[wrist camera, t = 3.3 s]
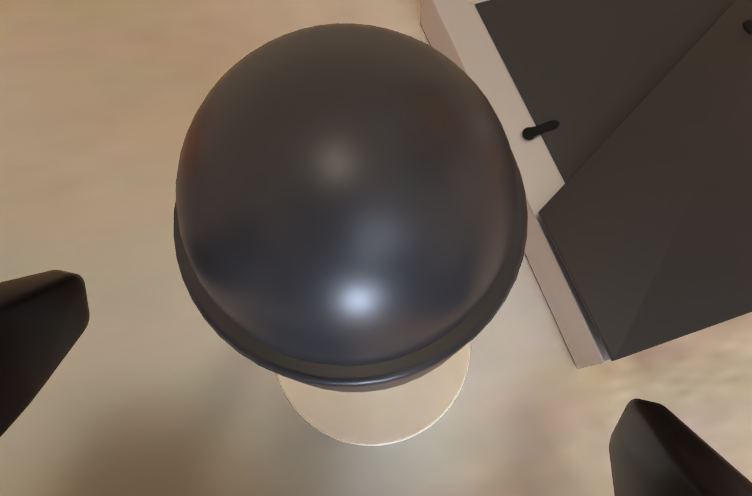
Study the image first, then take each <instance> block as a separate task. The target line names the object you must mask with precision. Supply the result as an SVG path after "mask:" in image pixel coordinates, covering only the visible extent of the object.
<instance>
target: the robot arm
mask: <svg viewBox="0 0 752 496" xmlns="http://www.w3.org/2000/svg"><path fill="white" fill-rule="evenodd" d="M88 322H89V308H88V301H87V295H86V288H85V283H84V280H83V278H82V277H81V276H80V275H78V274H75V273H70V272H66V271H61V270H51V271H47V272H43V273H39V274H34V275H30V276H26V277H22V278H18V279H14V280H9V281H5V282H1V283H0V437H1V436H2V435H3V433H4V432H5V431H6V430H7V429H8V428H9V427H10V426H11V425H12V423H13V422H14V421H15V420H16V419H17V418H18V417H19V416H20V414H21V413H22V412H23V411H24V410H25V409H26V407H27V406H28V405H29V404H30V403H31V401H32V400H33V399H34V397H35V396H36V395H37V394H38V392H39V391H40V390H41V388H42V387H43V386H44V384H45V383H46V382H47V380H48V379H49V378H50V376H51V375H52V374H53V372H54V371H55V370H56V368H57V367H58V365H59V364H60V363H61V361H62V360H63V359H64V357H65V356H66V355H67V353H68V352H69V351H70V349H71V348H72V347H73V345H74V344H75V343H76V341H77V340H78V339H79V337H80V336H81V335H82V333H83V332H84V330H85V329H86V327H87V325H88ZM609 453H610V461H611V469H612V477H613V485H614V493H615V496H752V483H751V482H750V481H749V480H748V479H747V478H746V477H745V476H743V475H742V474H741V473H740V472H739V471H738V470H737V469H735V468H734V467H733V466H732V465H731V464H730V463H729V462H727V461H726V460H725V459H724V458H723V457H722V456H721V455H719V454H718V453H717V452H716V451H715V450H714V449H713V448H711V447H710V446H709V445H708V444H707V443H706V442H705V441H704V440H702V439H701V438H700V437H699V436H698V435H697V434H696V433H694V432H693V431H692V430H691V429H690V428H689V427H688V426H686V425H685V424H684V423H683V422H682V421H681V420H680V419H678V418H677V417H676V416H675V415H674V414H673V413H672V412H670V411H669V410H668V409H667V408H666V407H665V406H663V405H661V404H659V403H655V402H650V401H646V400H641V399H633V400H631V401H630V402H629V403H628V404H627V406H626V408H625V410H624V412H623V414H622V416H621V417H620V419H619V421H618V423H617V425H616V427H615V429H614V431H613V433H612V435H611V438H610V444H609Z"/></svg>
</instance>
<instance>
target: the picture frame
mask: <svg viewBox="0 0 752 496" xmlns="http://www.w3.org/2000/svg"><path fill="white" fill-rule="evenodd" d="M420 23H421V25H422V27H423V30H424V32H425V34H426V36H427V38H428V41H429V43H430V45H431V47H433V48H434V49H436V50H438V51H439V52H441V53H442V54H444V55H445V56H446V57H447V58H449V59H450V60H451V61H453V62H454V63H455V64H456V65H457V66H459V67H460V68H461V69H462V70H463V71H464V72H465V73H466V74H467V75H468V76H469V77H470V78H471V79H472V80H473V81H474V82H475V83H476V84H477V86H478V87H479V88H480V90H481V91H482V92H483V94H484V95H485V96H486V97H487V99H488V101H489V102H490V104H491V106H492V108H493V109H494V111H495V113H496V115H497V116H498V118H499V120H500V122H501V124H502V126H503V129H504V131H505V134H506V136H507V139H508V141H509V144H510V149H511V150H512V152H513V155H514V157H515V160H516V162H517V165H518V167H519V170H520V172H521V176H522V180H523V184H524V188H525V192H526V201H527V210H528V226H527V240H526V245H525V250H524V252H525V254H526V256H527V259H528V261H529V263H530V265H531V267H532V270H533V272H534V274H535V276H536V278H537V281H538V283H539V285H540V287H541V289H542V292H543V294H544V296H545V298H546V300H547V303H548V305H549V307H550V309H551V311H552V314H553V316H554V318H555V320H556V322H557V325H558V327H559V329H560V331H561V333H562V336H563V338H564V340H565V342H566V344H567V347H568V349H569V351H570V353H571V355H572V358H573V360H574V362H575V364H576V366H577V368H578V369H579V368H584V367H588V366H592V365H597V364H601V363H605V362H608V361H610V360H611V361H614V360H617V359H620V358H623V357H626V356H629V355H631V354H634V353H637V352H640V351H643V350H645V349H648V348H651V347H654V346H657V345H659V344H662V343H665V342H668V341H671V340H674V339H676V338H679V337H682V336H685V335H688V334H690V333H693V332H696V331H699V330H702V329H704V328H707V327H710V326H713V325H716V324H719V323H721V322H724V321H727V320H730V319H733V318H735V317H738V316H741V315H744V314H747V313H749V312H752V0H422V5H421V16H420Z"/></svg>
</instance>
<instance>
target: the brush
mask: <svg viewBox="0 0 752 496" xmlns="http://www.w3.org/2000/svg"><path fill="white" fill-rule="evenodd" d="M527 226H528V210H527V201H526V192H525V188H524V184H523V180H522V176H521V172H520V170H519V167H518V165H517V162H516V160H515V157H514V155H513V152H512V150H511V149H510V144H509V141H508V139H507V136H506V134H505V131H504V129H503V126H502V124H501V122H500V120H499V118H498V116H497V115H496V113H495V111H494V109H493V108H492V106H491V104H490V102H489V101H488V99H487V97H486V96H485V95H484V94H483V92H482V91H481V90H480V88H479V87H478V86H477V84H476V83H475V82H474V81H473V80H472V79H471V78H470V77H469V76H468V75H467V74H466V73H465V72H464V71H463V70H462V69H461V68H460V67H459V66H457V65H456V64H455V63H454V62H453V61H451V60H450V59H449V58H447V57H446V56H445V55H444V54H442V53H441V52H439V51H438V50H436V49H434V48H433V47H431V46H429V45H428V44H426V43H424V42H422V41H419V40H417V39H415V38H413V37H411V36H408V35H405V34H402V33H399V32H396V31H393V30H389V29H385V28H381V27H376V26H371V25H362V24H328V25H319V26H314V27H309V28H305V29H301V30H298V31H294V32H291V33H288V34H285V35H283V36H281V37H279V38H276V39H274V40H272V41H270V42H268V43H266V44H264V45H263V46H261V47H259V48H258V49H256V50H254V51H253V52H251V53H250V54H248V55H247V56H246V57H244V58H243V59H242V60H240V61H239V62H238V63H236V64H235V65H234V66H233V67H232V68H231V69H230V70H229V71H227V72H226V73H225V74H224V75H223V76H222V77H221V78H220V80H219V81H218V82H217V83H216V84H215V86H214V87H213V88H212V89H211V91H210V92H209V93H208V95H207V96H206V98H205V100H204V101H203V103H202V104H201V106H200V108H199V109H198V111H197V113H196V114H195V116H194V118H193V120H192V123H191V125H190V127H189V129H188V131H187V134H186V137H185V140H184V144H183V147H182V150H181V154H180V160H179V166H178V172H177V179H176V203H175V209H174V242H175V249H176V256H177V261H178V264H179V268H180V271H181V275H182V278H183V281H184V283H185V285H186V287H187V289H188V292H189V294H190V296H191V298H192V300H193V302H194V303H195V305H196V306H197V308H198V310H199V311H200V313H201V314H202V316H203V317H204V319H205V320H206V321H207V322H208V323H209V325H210V326H211V327H212V328H213V329H214V330H215V331H216V333H217V334H218V335H219V336H220V337H221V338H222V339H223V340H225V341H226V342H227V343H228V344H229V345H230V346H232V347H233V348H234V349H235V350H236V351H237V352H239V353H240V354H242V355H243V356H245V357H247V358H248V359H250V360H251V361H253V362H255V363H256V364H258V365H259V366H262V367H264V368H266V369H268V370H270V371H273V372H275V373H276V375H277V378H278V381H279V384H280V386H281V388H282V390H283V392H284V394H285V396H286V398H287V399H288V401H289V402H290V404H291V405H292V407H293V408H294V409H295V410H296V411H297V413H298V414H299V415H300V416H301V417H302V418H303V419H304V420H305V421H306V422H308V423H309V424H310V425H311V426H312V427H314V428H315V429H317V430H318V431H320V432H322V433H323V434H325V435H327V436H329V437H331V438H334V439H336V440H339V441H342V442H345V443H349V444H355V445H361V446H381V445H388V444H393V443H397V442H400V441H404V440H406V439H409V438H411V437H413V436H416V435H418V434H419V433H421V432H422V431H424V430H426V429H427V428H429V427H430V426H431V425H433V424H434V423H435V422H436V421H437V420H439V419H440V418H441V417H442V416H443V414H444V413H445V412H446V411H447V410H448V409H449V408H450V406H451V405H452V403H453V402H454V401H455V399H456V398H457V396H458V394H459V392H460V390H461V388H462V386H463V383H464V381H465V378H466V375H467V372H468V367H469V362H470V354H471V340H473V339H474V338H475V337H476V336H477V335H478V334H479V333H480V332H481V331H482V329H483V328H484V327H485V326H486V325H487V324H488V323H489V322H490V321H491V320H492V318H493V317H494V316H495V314H496V313H497V311H498V310H499V309H500V307H501V306H502V304H503V303H504V301H505V300H506V298H507V296H508V294H509V292H510V290H511V288H512V286H513V284H514V282H515V280H516V277H517V274H518V272H519V269H520V266H521V263H522V260H523V256H524V250H525V245H526V240H527Z"/></svg>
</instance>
